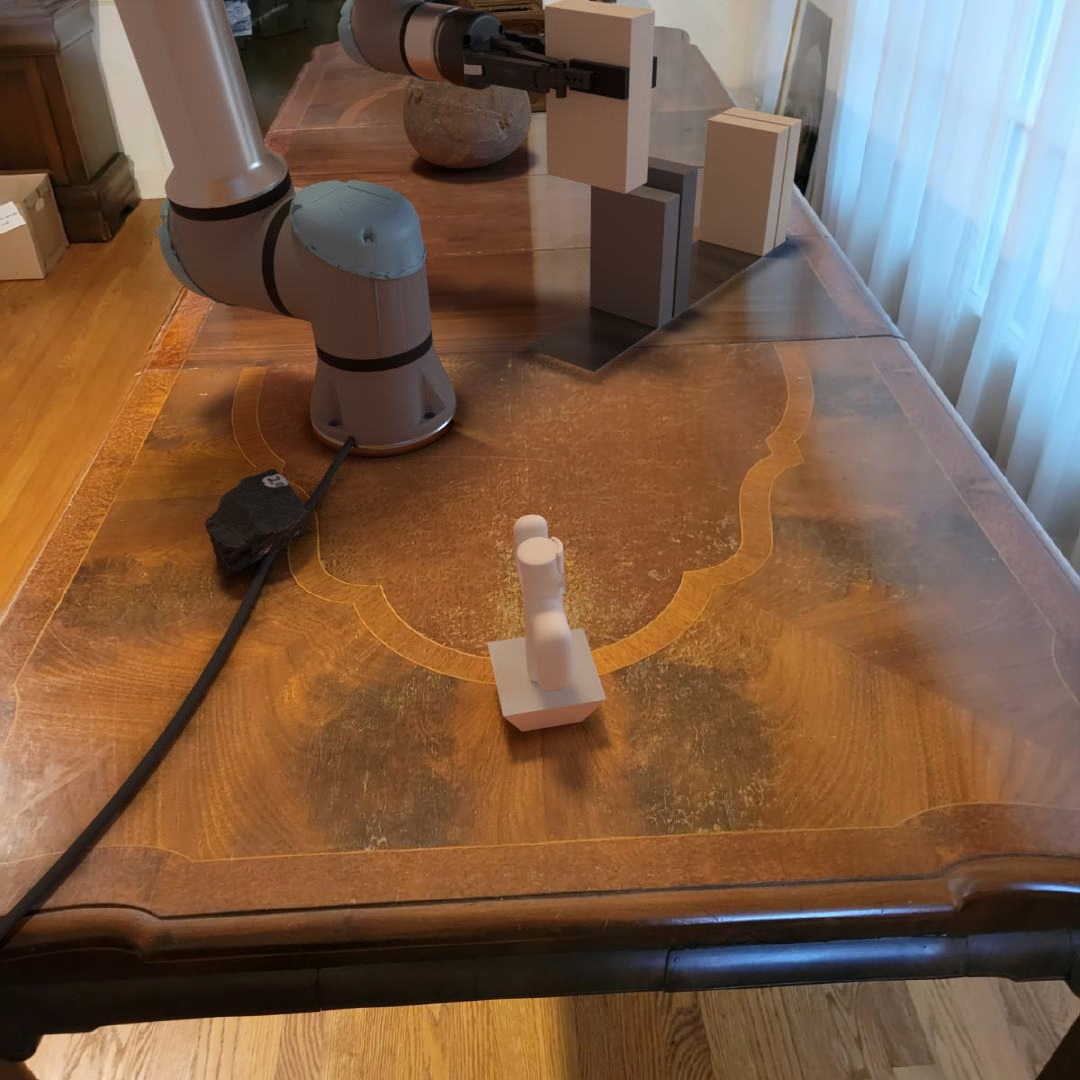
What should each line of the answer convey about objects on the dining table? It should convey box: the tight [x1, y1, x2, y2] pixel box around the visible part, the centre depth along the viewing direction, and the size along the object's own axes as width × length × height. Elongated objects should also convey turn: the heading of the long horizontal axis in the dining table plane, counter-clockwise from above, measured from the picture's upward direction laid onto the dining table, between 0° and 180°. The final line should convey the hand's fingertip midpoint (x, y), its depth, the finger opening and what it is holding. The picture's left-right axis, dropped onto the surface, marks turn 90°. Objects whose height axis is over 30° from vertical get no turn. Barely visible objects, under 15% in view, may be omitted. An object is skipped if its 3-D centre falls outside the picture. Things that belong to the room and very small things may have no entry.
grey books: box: [589, 155, 699, 329], centre depth 115 cm, size 6×10×17 cm, turn 52°
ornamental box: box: [466, 0, 546, 113], centre depth 197 cm, size 35×18×18 cm, turn 5°
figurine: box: [487, 514, 607, 732], centre depth 67 cm, size 7×9×15 cm
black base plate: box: [524, 237, 790, 373], centre depth 124 cm, size 46×10×1 cm, turn 142°
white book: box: [544, 0, 656, 194], centre depth 97 cm, size 4×10×16 cm, turn 52°
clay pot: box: [402, 76, 532, 169], centre depth 162 cm, size 21×21×15 cm
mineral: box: [204, 467, 313, 577], centre depth 86 cm, size 10×9×6 cm
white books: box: [697, 107, 803, 257], centre depth 130 cm, size 6×10×16 cm, turn 52°
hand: (640, 78), depth 93 cm, fingers closed on white book, 4 cm apart
